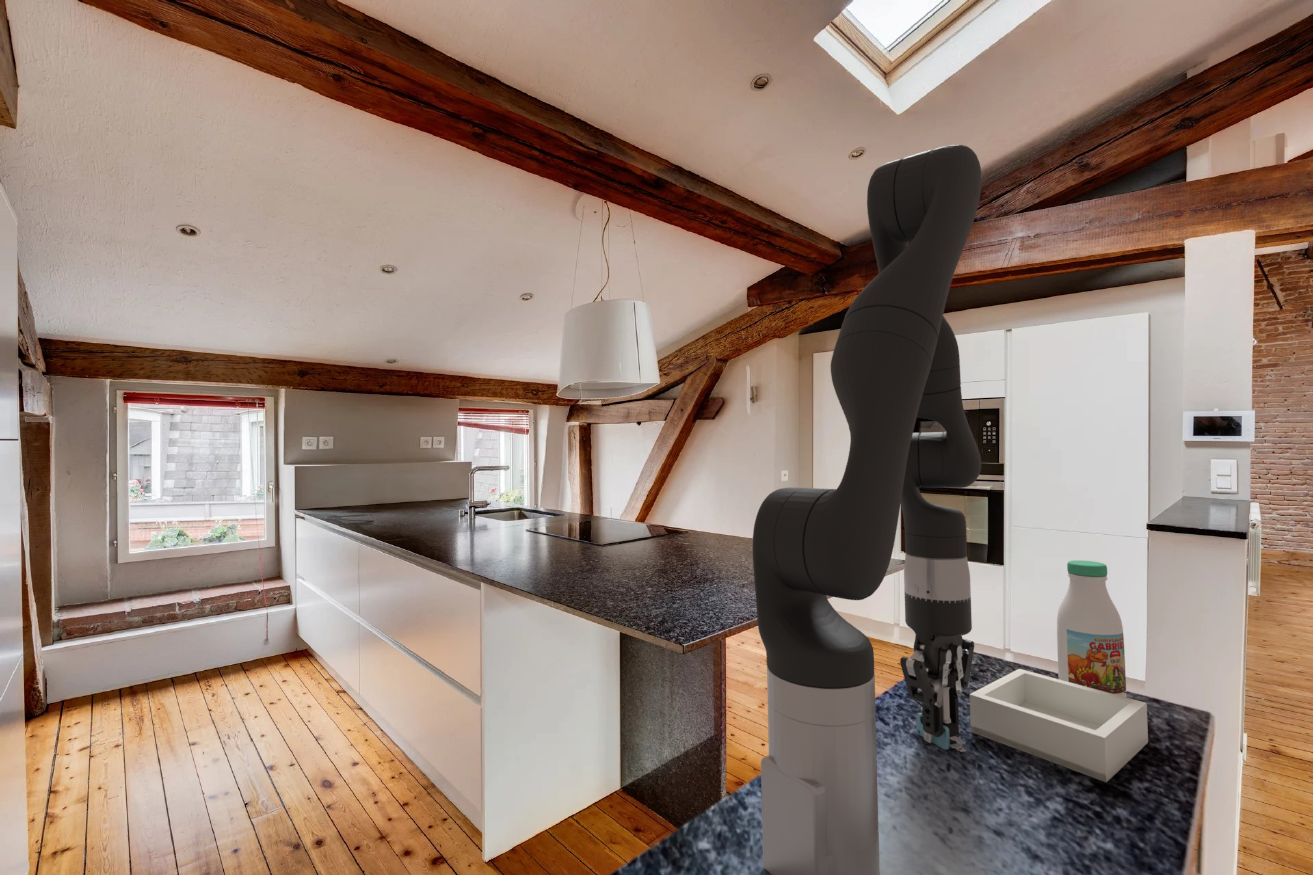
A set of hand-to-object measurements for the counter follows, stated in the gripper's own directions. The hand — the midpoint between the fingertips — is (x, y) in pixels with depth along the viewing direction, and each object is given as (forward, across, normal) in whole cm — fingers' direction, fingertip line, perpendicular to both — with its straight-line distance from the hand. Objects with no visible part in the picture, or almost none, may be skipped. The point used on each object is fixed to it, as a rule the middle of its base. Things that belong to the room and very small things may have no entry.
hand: (941, 728), depth 72 cm
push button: (+2, 0, 0) cm, 2 cm away
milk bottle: (+2, +28, -7) cm, 29 cm away
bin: (+2, +13, -8) cm, 15 cm away
